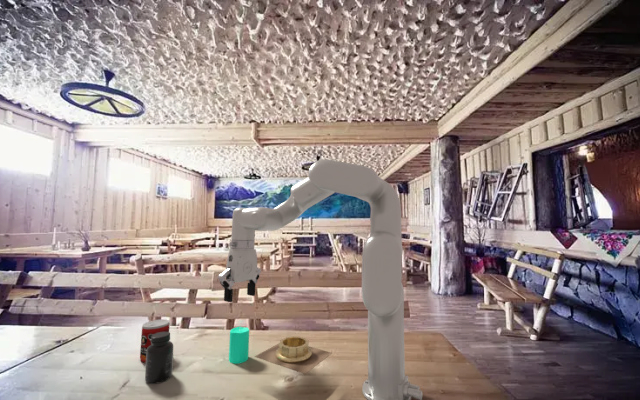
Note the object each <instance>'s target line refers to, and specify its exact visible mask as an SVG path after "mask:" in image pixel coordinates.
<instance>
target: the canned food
mask: <svg viewBox="0 0 640 400" xmlns="http://www.w3.org/2000/svg"><path fill="white" fill-rule="evenodd" d="M170 322H171V321H170V320H168V319H166V318H165V319H164V318H163V319H160V318H159V319H154V320H150V321H146V322H145V323H143V324H142V327H141V337H140V339H141V340H140V352H139V359H140V361H141V362H142V363H146V352H147V348H148V347H149V346H150V345H151V336H152V335H153V334H156V333H159V332H170V324H171V323H170Z"/></svg>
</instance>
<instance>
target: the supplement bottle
mask: <svg viewBox="0 0 640 400" xmlns="http://www.w3.org/2000/svg"><path fill="white" fill-rule="evenodd" d="M173 363H174V343H173V342H172V341H171V331H169V332H159V333H156V334H153V335H152V336H151V345H150V346H149V347H148V348H147V352H146V362H145V371H144V372H145V373H144V381H145V382H146V383H148V384H154V385H155V384H159V383H163V382H165V381H166V380H168V379H170V378H171V376H172V374H173V365H174V364H173Z"/></svg>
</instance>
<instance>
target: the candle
mask: <svg viewBox="0 0 640 400" xmlns="http://www.w3.org/2000/svg"><path fill="white" fill-rule="evenodd" d="M228 347H229V349H228V361H229V363H231V364H238V365H239V364H242V363H246V362H247V361H248V359H249V349H250V348H249V347H250V329H249V327H244V326H237V327H233V328H232V329H230V331H229V345H228Z"/></svg>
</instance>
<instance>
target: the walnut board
mask: <svg viewBox="0 0 640 400" xmlns="http://www.w3.org/2000/svg"><path fill="white" fill-rule="evenodd" d="M309 347H310V348H311V350H312V357H311V358H310V359H309V360H307V361H305V362H301V363H284V362H281V361H279V360H278V359H277V358H276V350H277V349H278V348H279V343H277V344H275V345H273V346H272V347H269V348H268V349H265V350H263V351H262V352H260V353H258V354H257V355H255V356H254V358H258V359H260V360H263V361H266V362H269V363H272V364H275V365H277V366H281V367H283V368H287V369H289V370H292V371H295V372H298V373H301V374H304V375H305V374H307V373H309V372H310V371H311V370H313V368H315V367H317V365H319V364H320V363H322V362H323V361H324V360H325V359H326V358H328V357H329V356H330V355H332V352H330V351H326V350H323V349H319V348H315V347H312V346H309Z"/></svg>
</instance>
